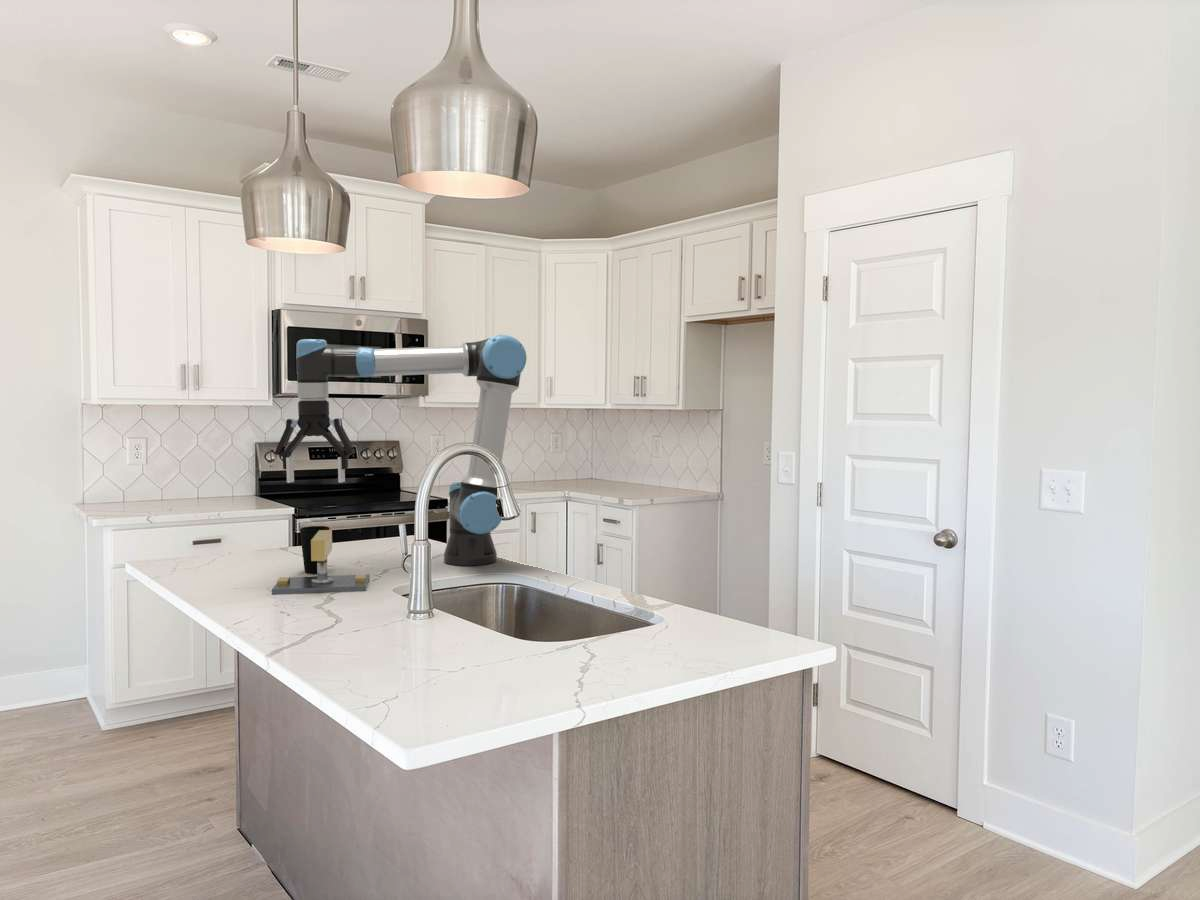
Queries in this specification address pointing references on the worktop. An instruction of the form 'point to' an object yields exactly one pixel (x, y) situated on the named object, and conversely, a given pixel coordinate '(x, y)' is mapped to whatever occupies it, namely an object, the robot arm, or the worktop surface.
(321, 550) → the flat gold bar
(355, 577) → the plate
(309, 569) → the cup
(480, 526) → the robot arm
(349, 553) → the worktop surface
